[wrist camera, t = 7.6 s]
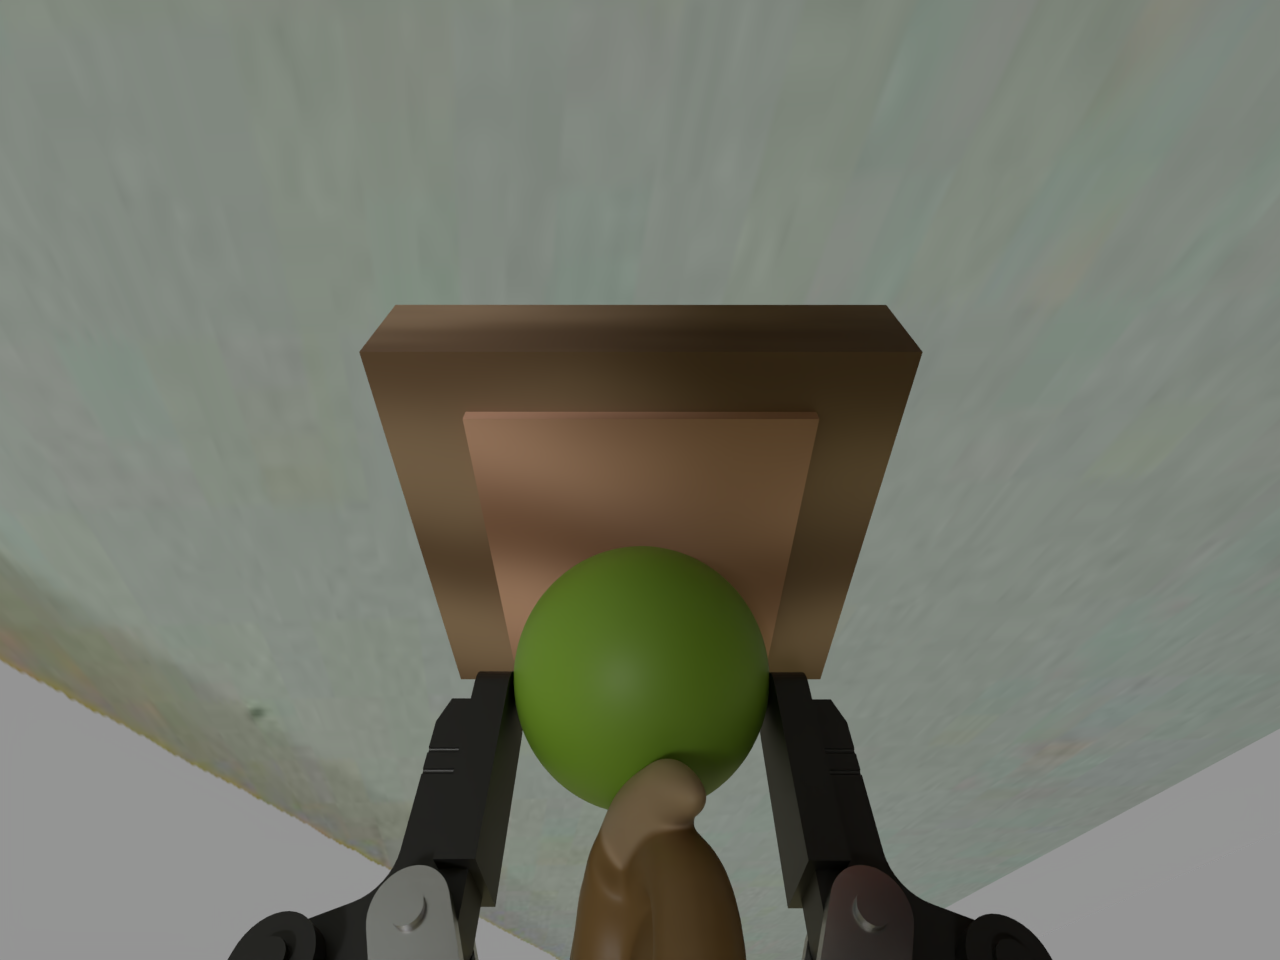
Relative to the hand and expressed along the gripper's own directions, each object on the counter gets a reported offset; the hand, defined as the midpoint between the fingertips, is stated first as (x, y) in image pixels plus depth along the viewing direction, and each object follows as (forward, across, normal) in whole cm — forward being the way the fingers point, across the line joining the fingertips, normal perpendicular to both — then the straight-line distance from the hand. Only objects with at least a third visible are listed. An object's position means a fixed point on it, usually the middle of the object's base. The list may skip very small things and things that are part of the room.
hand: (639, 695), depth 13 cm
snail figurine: (+3, 0, 0) cm, 3 cm away
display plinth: (+7, 0, 0) cm, 7 cm away
